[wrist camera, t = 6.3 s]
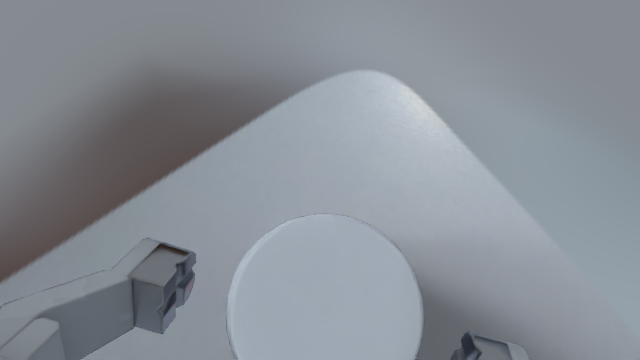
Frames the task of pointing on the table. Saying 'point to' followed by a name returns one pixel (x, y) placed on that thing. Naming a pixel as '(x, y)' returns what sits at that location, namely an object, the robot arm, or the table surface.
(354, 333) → the pill bottle
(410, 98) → the table surface
